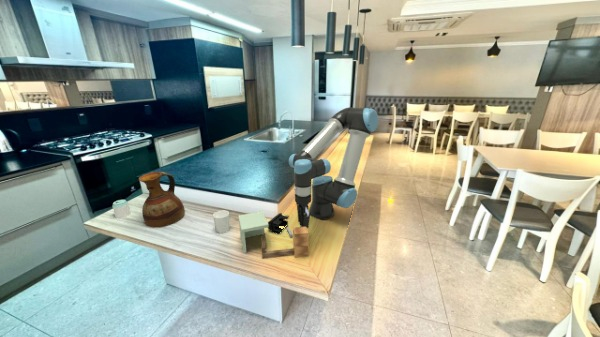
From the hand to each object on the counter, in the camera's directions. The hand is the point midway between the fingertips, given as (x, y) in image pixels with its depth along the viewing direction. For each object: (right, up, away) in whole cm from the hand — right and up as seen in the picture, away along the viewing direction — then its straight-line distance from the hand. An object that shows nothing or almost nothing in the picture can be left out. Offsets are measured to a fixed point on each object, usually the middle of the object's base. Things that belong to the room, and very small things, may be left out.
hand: (303, 237), depth 111 cm
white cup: (-42, 0, +10) cm, 44 cm away
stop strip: (-7, 0, +7) cm, 10 cm away
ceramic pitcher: (-78, +3, +19) cm, 80 cm away
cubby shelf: (-24, -2, +1) cm, 24 cm away
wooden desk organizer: (-9, -4, -5) cm, 11 cm away
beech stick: (-14, +3, +18) cm, 23 cm away
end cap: (-13, +1, +12) cm, 18 cm away
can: (-103, +3, +21) cm, 105 cm away
